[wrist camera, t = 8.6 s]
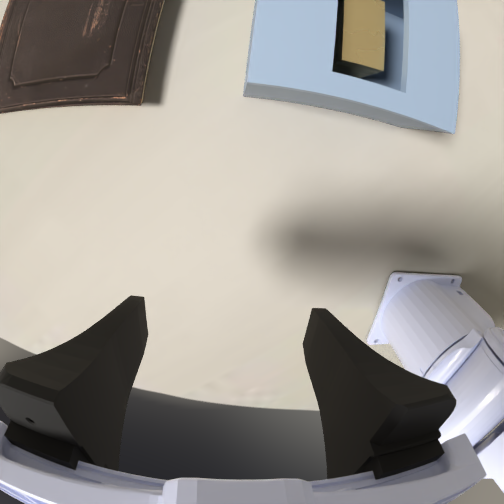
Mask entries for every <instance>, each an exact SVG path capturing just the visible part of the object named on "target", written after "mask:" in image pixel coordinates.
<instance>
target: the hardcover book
mask: <svg viewBox="0 0 504 504" xmlns="http://www.w3.org/2000/svg"><path fill="white" fill-rule="evenodd" d="M164 1H165V0H9V3H8V5H7V8H6V11H5V14H4V17H3V20H2V23H1V27H0V114H1V113H8V112H15V111H22V110H30V109H40V108H51V107H64V106H84V105H141V103H142V102H143V96H144V90H145V84H146V78H147V73H148V68H149V63H150V58H151V53H152V48H153V44H154V40H155V35H156V31H157V27H158V23H159V19H160V16H161V12H162V8H163V5H164Z"/></svg>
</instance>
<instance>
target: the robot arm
mask: <svg viewBox="0 0 504 504" xmlns="http://www.w3.org/2000/svg"><path fill="white" fill-rule="evenodd" d="M399 277H401V278H400V279H399V280H398V278H399ZM451 280H452V281H451ZM461 282H462V278H461V277H460V276H458V275H438V274H419V273H401V272H394V273H392V274H391V275H390V277H389V280H388V283H387V286H386V289H385V292H384V295H383V298H382V301H381V304H380V306H379V309H378V312H377V314H376V317H375V320H374V322H373V325H372V328H371V330H370V333H369V335H368V338H367V343H368V344H369V345H375V344H390V345H391V346H392V348H393V350H394V351H395V353H396V355H397V356H398V358H399V360H400V361H401V363H402V365H403V366H404V368H405V369H403V368H401V367H399V366H398V365H396V364H394V363H392V362H391V361H389V360H387V359H386V358H384V357H383V356H381V355H380V354H378V353H377V352H375V351H374V350H373V349H371V348H370V347H369V346H367V345H366V344H365V343H364V342H362V341H361V340H360V339H359V338H358V337H356V336H355V335H354V334H353V333H352V332H351V331H350V330H348V329H347V328H346V327H345V326H344V325H343V324H342V323H341V322H340V321H339V320H338V319H337V318H336V317H334V316H333V315H332V314H331V313H330V312H329V311H328V310H327V309H325V308H312V311H311V315H310V319H309V323H308V326H307V330H306V334H305V337H304V341H303V348H304V355H305V361H306V365H307V369H308V372H309V375H310V379H311V382H312V385H313V388H314V392H315V395H316V398H317V401H318V405H319V409H320V415H321V421H322V427H323V434H324V442H325V451H326V462H327V479H326V480H319V481H311V482H307V481H304V480H301V479H265V480H225V479H205V478H177V479H172V480H169V481H168V480H161V479H154V478H149V477H143V476H138V475H133V474H128V473H123V472H119V471H118V468H119V454H120V445H121V436H122V429H123V424H124V417H125V412H126V407H127V402H128V398H129V395H130V391H131V389H132V386H133V383H134V380H135V377H136V374H137V372H138V369H139V366H140V363H141V360H142V358H143V355H144V351H145V347H146V342H147V337H148V329H147V320H146V311H145V301H144V297H140V296H130V297H128V298H127V299H126V300H125V301H123V302H122V303H121V304H120V305H118V306H117V307H116V308H115V309H114V310H112V311H111V312H110V313H109V314H107V315H106V316H105V317H104V318H102V319H101V320H100V321H98V322H97V323H95V324H94V325H93V326H91V327H90V328H89V329H87V330H86V331H84V332H83V333H81V334H79V335H78V336H76V337H74V338H73V339H71V340H69V341H67V342H65V343H63V344H61V345H59V346H57V347H55V348H53V349H51V350H48V351H46V352H43V353H41V354H38V355H35V356H32V357H28V358H25V359H21V360H17V361H13V362H8V363H6V364H5V366H4V367H3V369H2V371H1V372H0V406H1V408H2V409H3V410H4V412H5V413H6V415H7V416H8V417H9V419H10V420H11V422H10V424H9V426H7V425H6V424H4V423H3V422H2V421H0V490H2V491H4V492H5V493H7V494H9V495H11V496H12V497H14V498H16V499H18V500H19V501H21V502H23V503H25V504H447V503H449V502H451V501H453V500H454V499H456V498H457V497H458V496H460V495H461V494H463V493H464V492H466V491H467V490H468V489H470V488H471V487H473V486H474V485H475V484H477V483H478V482H479V481H480V480H482V479H486V478H492V479H494V481H495V482H496V483H497V485H498V486H499V487H500V489H501V490H502V491H503V493H504V421H503V422H502V423H501V424H500V425H499V426H498V427H497V428H496V429H495V430H494V431H493V432H492V433H491V434H490V435H488V437H486V438H485V439H483V440H482V441H480V440H481V439H482V438H484V437H485V436H486V435H487V434H488V433H489V432H490V431H491V430H492V429H493V428H494V427H495V426H496V425H497V424H498V423H499V422H501V421H502V420H503V419H504V330H503V329H501V328H500V327H495V324H494V322H493V320H492V318H491V316H490V315H489V314H488V313H487V312H486V311H485V310H484V309H483V308H482V307H481V306H480V305H479V304H478V303H477V302H476V301H475V300H473V299H472V298H471V297H470V296H469V295H468V294H467V293H466V292H465V291H464V290H463V289H462V288H461V287H460V284H461ZM376 339H377V340H376ZM479 441H480V442H479Z"/></svg>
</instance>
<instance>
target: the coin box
mask: <svg viewBox="0 0 504 504" xmlns="http://www.w3.org/2000/svg"><path fill="white" fill-rule="evenodd" d="M381 1H384V2H385V54H384V71H382V72H379V73H375V74H372V75H369V76H365V77H362V78H356V77H352V76H348V75H344V74H340V73H336V72H332V68H333V58H334V47H335V35H336V21H337V6H338V0H255V7H254V14H253V21H252V29H251V36H250V44H249V52H248V60H247V68H246V77H245V85H244V94H243V96H245V97H254V98H263V99H271V100H279V101H286V102H292V103H299V104H305V105H310V106H316V107H321V108H326V109H331V110H336V111H340V112H345V113H349V114H353V115H358V116H362V117H366V118H370V119H373V120H377V121H381V122H384V123H388V124H391V125H395V126H398V127H401V128H412V129H421V130H429V131H437V132H444V133H450V134H455V128H456V119H457V109H458V97H459V78H460V37H459V19H458V7H457V0H381Z"/></svg>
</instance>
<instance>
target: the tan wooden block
mask: <svg viewBox="0 0 504 504" xmlns="http://www.w3.org/2000/svg"><path fill="white" fill-rule="evenodd" d="M384 54H385V2H384V1H381V0H338V6H337V21H336V35H335V47H334V58H333V68H332V72H336V73H340V74H344V75H348V76H352V77H356V78H362V77H365V76H369V75H372V74H375V73H379V72H382V71H384Z"/></svg>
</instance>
